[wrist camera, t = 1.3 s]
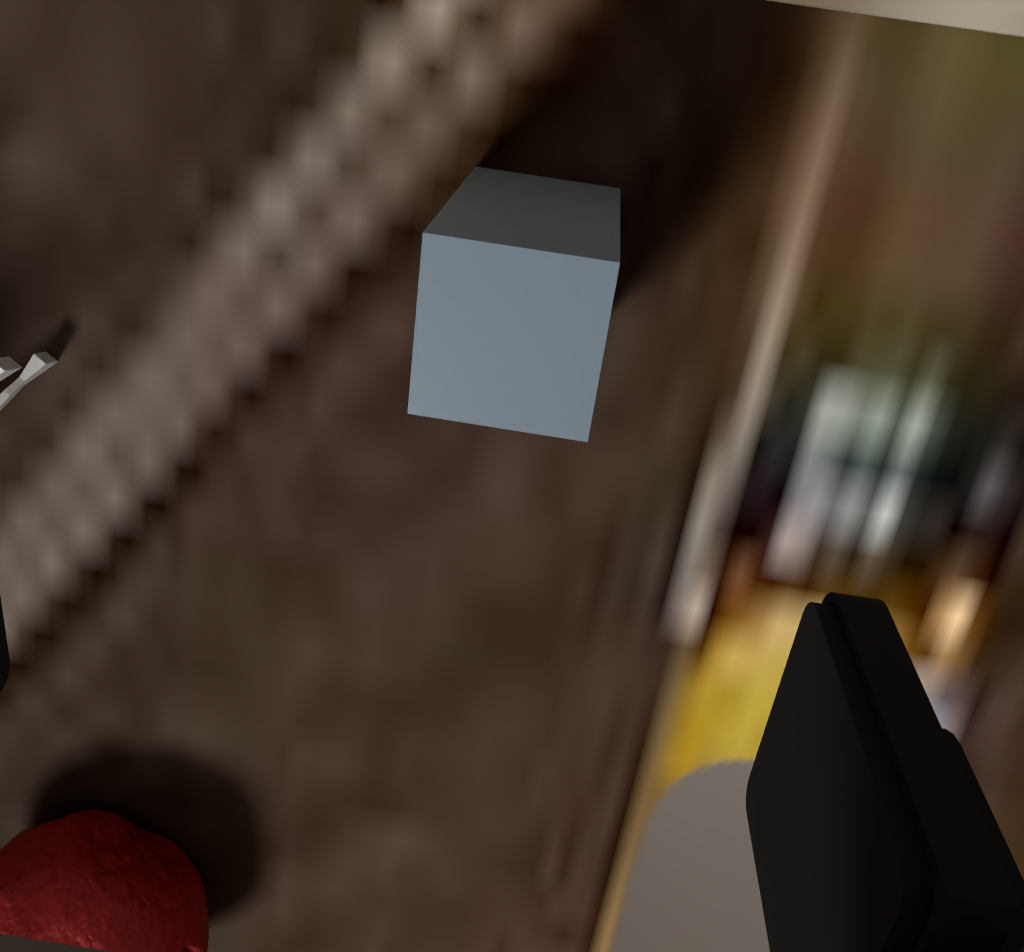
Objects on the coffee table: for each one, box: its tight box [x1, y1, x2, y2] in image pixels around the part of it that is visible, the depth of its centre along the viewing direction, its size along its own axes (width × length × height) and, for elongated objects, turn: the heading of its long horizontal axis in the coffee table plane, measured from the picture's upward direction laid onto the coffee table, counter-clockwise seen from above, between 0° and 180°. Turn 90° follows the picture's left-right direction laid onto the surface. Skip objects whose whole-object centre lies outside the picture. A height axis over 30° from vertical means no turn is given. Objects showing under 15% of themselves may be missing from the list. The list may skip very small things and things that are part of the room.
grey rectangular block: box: [408, 167, 620, 442], centre depth 24 cm, size 4×4×8 cm
